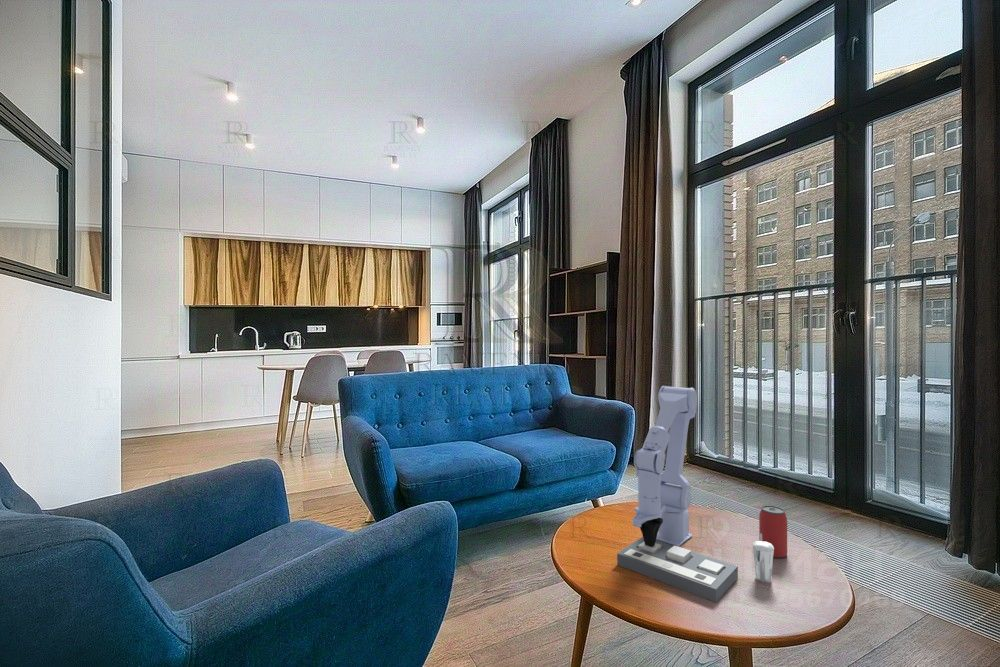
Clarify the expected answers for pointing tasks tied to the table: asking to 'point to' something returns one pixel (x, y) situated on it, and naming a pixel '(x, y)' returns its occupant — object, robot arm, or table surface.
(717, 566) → the key
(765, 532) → the beer can
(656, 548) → the key
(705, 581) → the button board
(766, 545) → the milkshake
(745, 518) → the table surface
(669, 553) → the key middle
